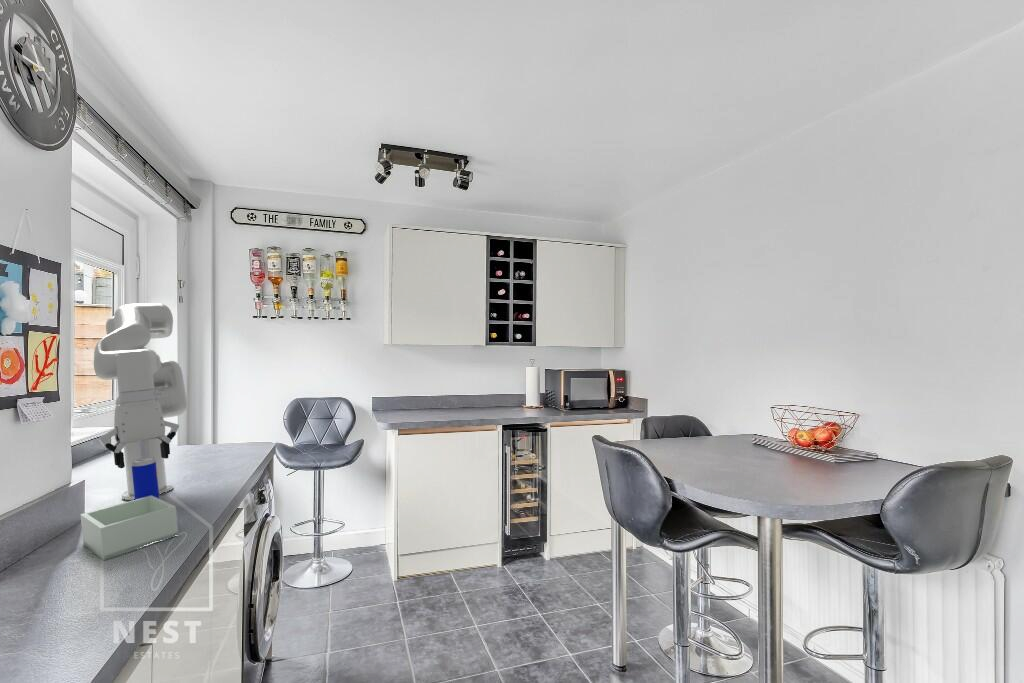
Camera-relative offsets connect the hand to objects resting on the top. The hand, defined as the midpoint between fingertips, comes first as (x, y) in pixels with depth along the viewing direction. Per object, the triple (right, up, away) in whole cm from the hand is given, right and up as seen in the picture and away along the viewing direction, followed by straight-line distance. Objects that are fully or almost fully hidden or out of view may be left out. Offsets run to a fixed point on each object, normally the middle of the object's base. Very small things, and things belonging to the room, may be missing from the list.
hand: (143, 462), depth 132 cm
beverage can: (+1, -15, +1) cm, 15 cm away
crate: (+8, -15, -14) cm, 22 cm away
